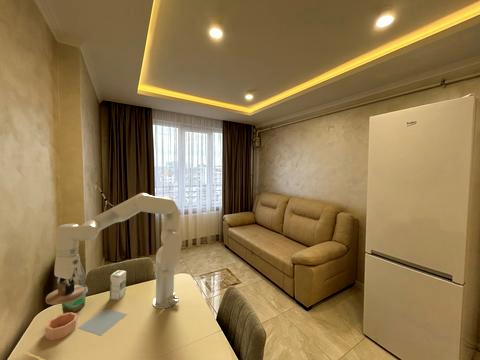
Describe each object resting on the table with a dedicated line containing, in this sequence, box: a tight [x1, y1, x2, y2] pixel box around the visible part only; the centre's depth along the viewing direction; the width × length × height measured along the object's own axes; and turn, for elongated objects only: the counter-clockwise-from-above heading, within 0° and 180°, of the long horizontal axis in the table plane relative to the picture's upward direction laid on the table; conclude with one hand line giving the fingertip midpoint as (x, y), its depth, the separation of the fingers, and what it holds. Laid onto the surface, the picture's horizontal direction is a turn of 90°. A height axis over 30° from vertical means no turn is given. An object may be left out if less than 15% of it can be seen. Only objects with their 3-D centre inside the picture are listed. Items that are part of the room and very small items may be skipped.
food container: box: [61, 284, 89, 314], centre depth 102 cm, size 12×6×10 cm, turn 168°
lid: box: [45, 279, 84, 306], centre depth 88 cm, size 13×13×6 cm
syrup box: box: [109, 269, 127, 300], centre depth 113 cm, size 6×6×14 cm
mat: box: [77, 307, 128, 337], centre depth 95 cm, size 14×14×1 cm
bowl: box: [44, 312, 79, 341], centre depth 88 cm, size 10×10×5 cm
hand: (66, 291), depth 88 cm, fingers closed on lid, 4 cm apart
